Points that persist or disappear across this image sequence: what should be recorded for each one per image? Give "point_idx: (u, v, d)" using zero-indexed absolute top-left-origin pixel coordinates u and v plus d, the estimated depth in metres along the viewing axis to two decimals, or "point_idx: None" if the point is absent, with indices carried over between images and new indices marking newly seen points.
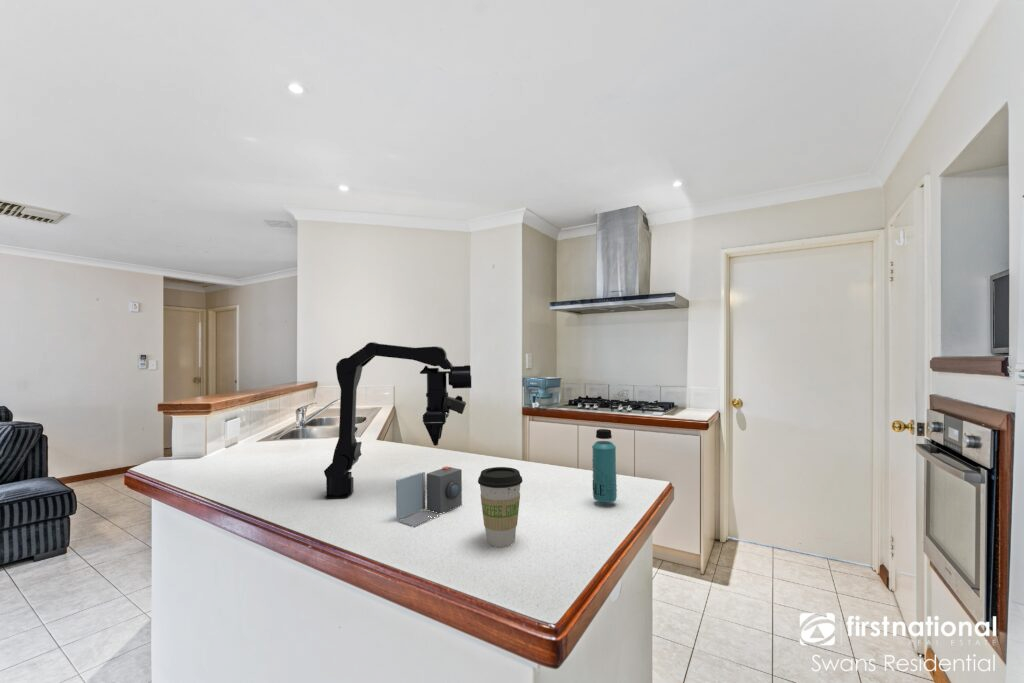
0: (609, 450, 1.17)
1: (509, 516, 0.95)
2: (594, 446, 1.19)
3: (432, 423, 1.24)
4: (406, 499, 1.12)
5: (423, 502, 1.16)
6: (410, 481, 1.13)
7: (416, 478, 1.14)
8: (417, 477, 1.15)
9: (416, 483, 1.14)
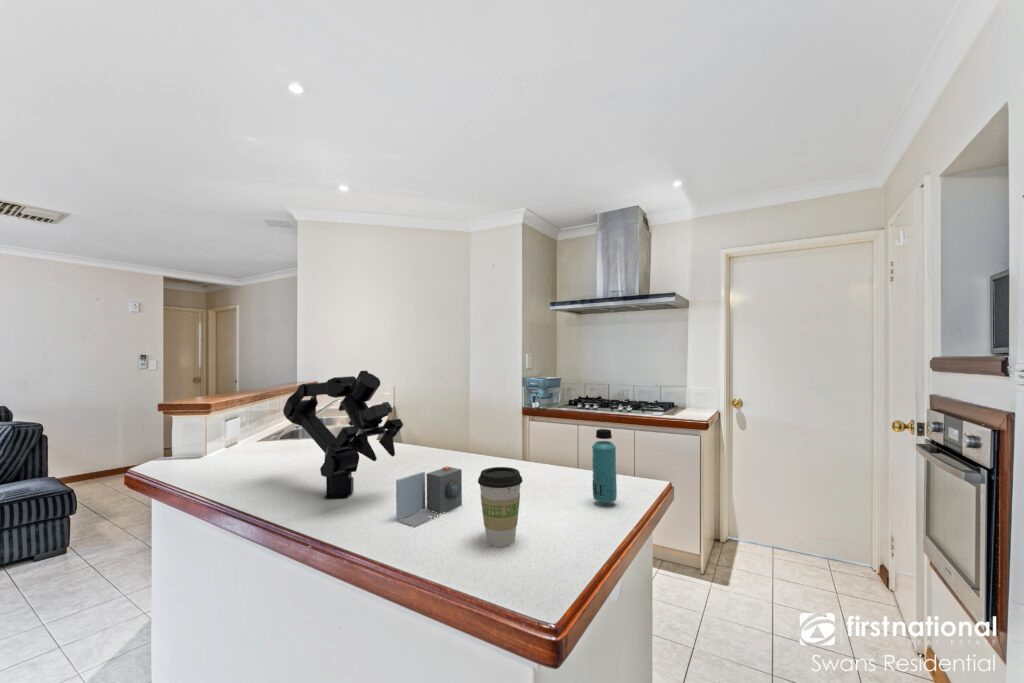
0: (609, 450, 1.17)
1: (509, 516, 0.95)
2: (594, 446, 1.19)
3: (351, 442, 1.16)
4: (406, 499, 1.12)
5: (423, 502, 1.16)
6: (410, 481, 1.13)
7: (416, 478, 1.14)
8: (417, 477, 1.15)
9: (416, 483, 1.14)
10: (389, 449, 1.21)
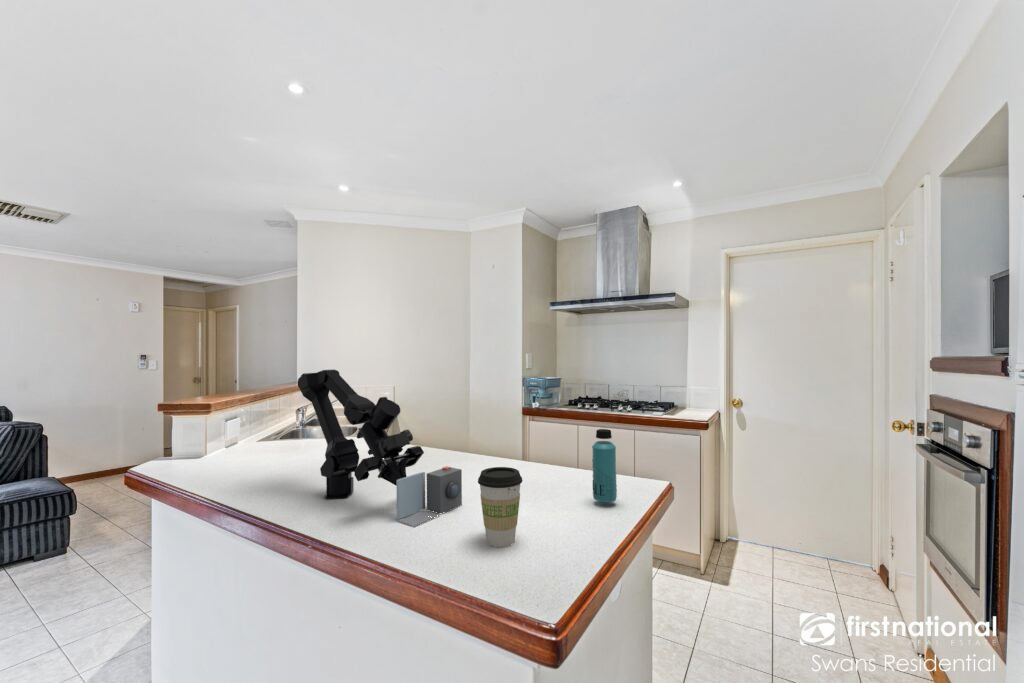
0: (609, 450, 1.17)
1: (509, 516, 0.95)
2: (594, 446, 1.19)
3: (381, 471, 1.13)
4: (406, 499, 1.12)
5: (423, 502, 1.16)
6: (410, 481, 1.13)
7: (416, 478, 1.14)
8: (417, 477, 1.15)
9: (416, 483, 1.14)
10: None
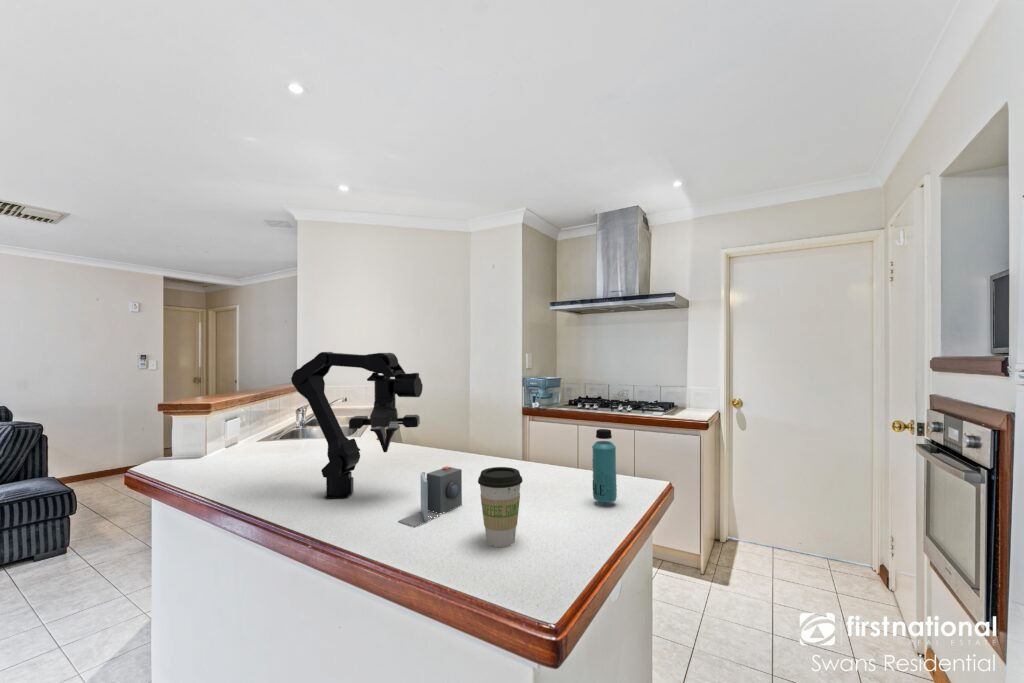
0: (609, 450, 1.17)
1: (509, 516, 0.95)
2: (594, 446, 1.19)
3: None
4: None
5: None
6: None
7: None
8: None
9: None
10: None
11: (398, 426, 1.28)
